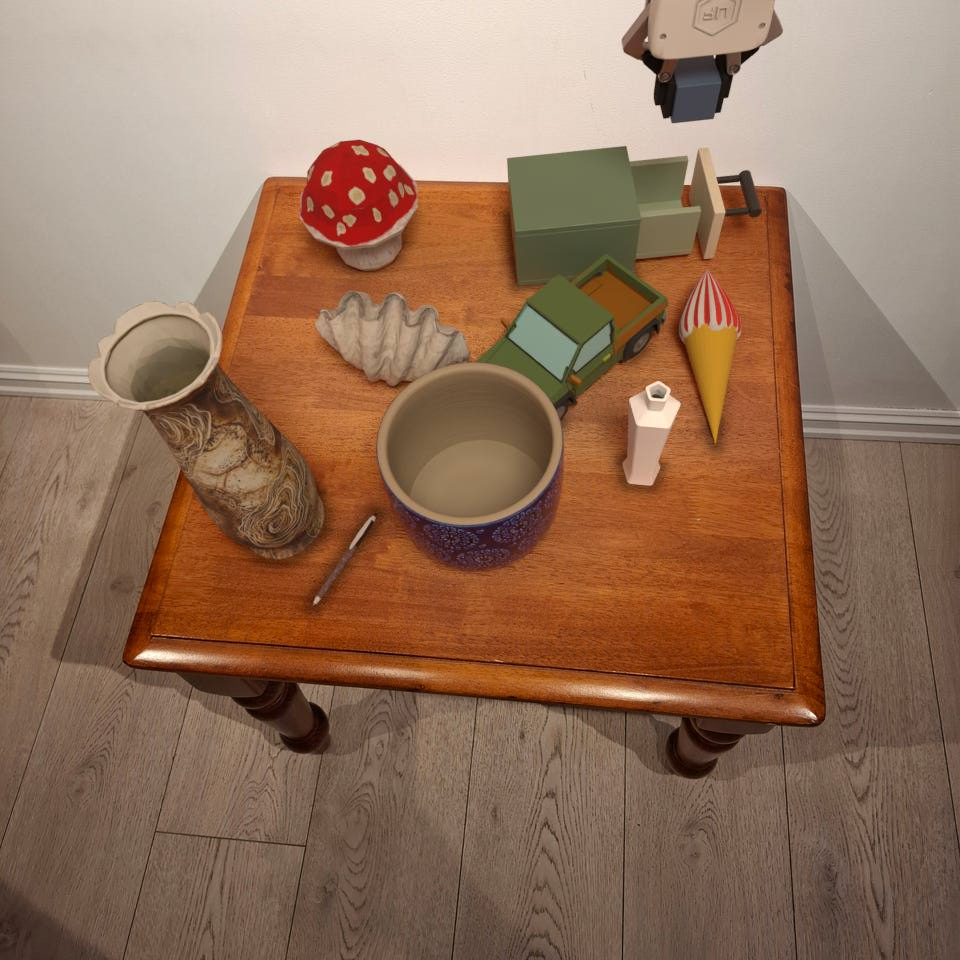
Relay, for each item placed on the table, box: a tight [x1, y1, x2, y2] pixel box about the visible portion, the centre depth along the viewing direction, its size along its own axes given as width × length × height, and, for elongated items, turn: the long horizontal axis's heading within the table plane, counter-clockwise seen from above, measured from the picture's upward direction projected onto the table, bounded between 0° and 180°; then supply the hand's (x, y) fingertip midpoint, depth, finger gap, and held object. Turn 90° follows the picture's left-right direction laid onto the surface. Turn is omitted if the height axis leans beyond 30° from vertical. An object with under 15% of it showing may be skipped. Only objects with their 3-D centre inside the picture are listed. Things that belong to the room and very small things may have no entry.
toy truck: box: [474, 254, 669, 422], centre depth 89 cm, size 11×21×10 cm, turn 133°
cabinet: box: [506, 145, 641, 287], centre depth 97 cm, size 14×11×9 cm
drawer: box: [629, 147, 763, 260], centre depth 97 cm, size 17×10×7 cm, turn 94°
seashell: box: [314, 290, 471, 387], centre depth 90 cm, size 10×15×10 cm
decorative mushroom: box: [299, 139, 419, 272], centre depth 96 cm, size 14×14×15 cm
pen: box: [312, 512, 378, 606], centre depth 84 cm, size 11×1×1 cm, turn 149°
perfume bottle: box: [621, 380, 681, 487], centre depth 80 cm, size 5×4×15 cm
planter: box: [375, 361, 565, 572], centre depth 79 cm, size 17×17×15 cm
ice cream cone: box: [678, 268, 743, 445], centre depth 90 cm, size 6×6×20 cm
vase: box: [87, 300, 326, 560], centre depth 74 cm, size 10×11×30 cm
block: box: [669, 55, 722, 124], centre depth 78 cm, size 4×4×4 cm
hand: (689, 104), depth 80 cm, fingers closed on block, 4 cm apart
